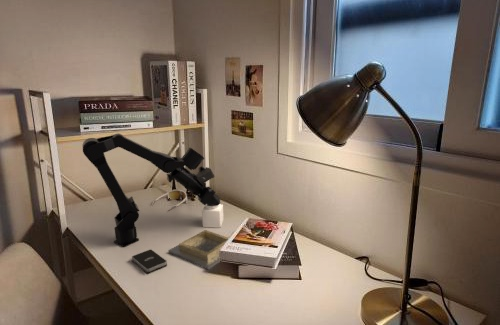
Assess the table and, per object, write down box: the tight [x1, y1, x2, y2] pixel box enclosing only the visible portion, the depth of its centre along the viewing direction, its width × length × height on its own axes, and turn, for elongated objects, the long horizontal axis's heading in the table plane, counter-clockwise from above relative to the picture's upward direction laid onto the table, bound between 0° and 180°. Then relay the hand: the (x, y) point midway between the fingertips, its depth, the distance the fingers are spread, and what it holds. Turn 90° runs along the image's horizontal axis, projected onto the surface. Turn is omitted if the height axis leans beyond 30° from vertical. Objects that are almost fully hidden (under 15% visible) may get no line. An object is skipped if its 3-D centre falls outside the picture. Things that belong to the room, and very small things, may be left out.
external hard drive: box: [131, 248, 168, 275], centre depth 112 cm, size 7×11×2 cm, turn 43°
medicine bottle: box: [201, 193, 224, 228], centre depth 139 cm, size 7×7×12 cm
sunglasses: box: [151, 189, 188, 213], centre depth 162 cm, size 14×15×5 cm
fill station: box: [168, 229, 229, 270], centre depth 120 cm, size 18×18×3 cm
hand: (215, 201), depth 138 cm, fingers closed on medicine bottle, 6 cm apart
